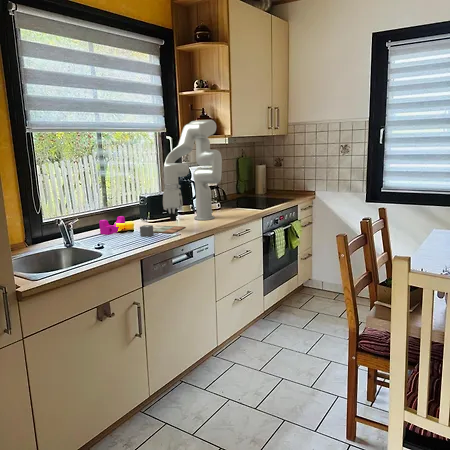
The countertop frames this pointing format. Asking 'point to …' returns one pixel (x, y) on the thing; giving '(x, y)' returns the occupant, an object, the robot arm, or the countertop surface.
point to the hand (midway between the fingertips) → (173, 220)
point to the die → (146, 230)
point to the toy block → (110, 226)
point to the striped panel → (167, 229)
